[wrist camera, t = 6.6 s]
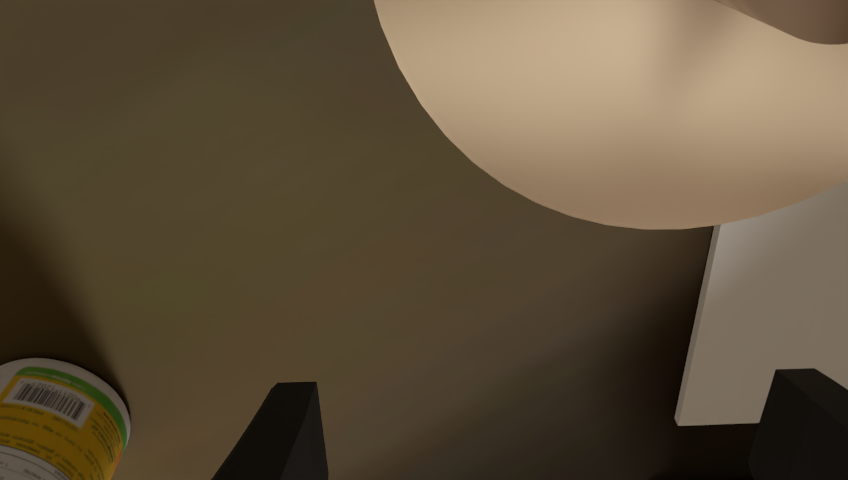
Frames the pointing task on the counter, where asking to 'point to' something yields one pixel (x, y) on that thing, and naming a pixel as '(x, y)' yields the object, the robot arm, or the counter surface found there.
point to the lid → (637, 100)
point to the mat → (768, 309)
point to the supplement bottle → (58, 422)
